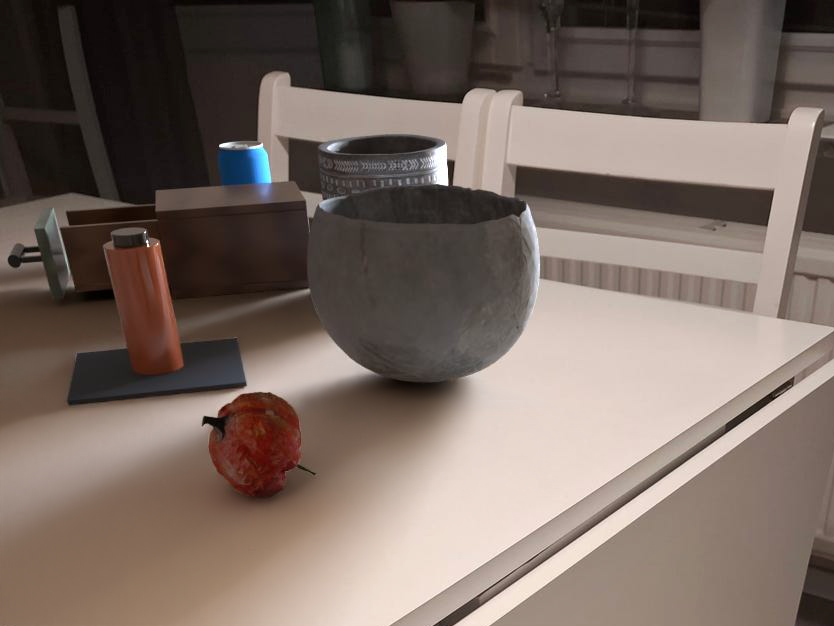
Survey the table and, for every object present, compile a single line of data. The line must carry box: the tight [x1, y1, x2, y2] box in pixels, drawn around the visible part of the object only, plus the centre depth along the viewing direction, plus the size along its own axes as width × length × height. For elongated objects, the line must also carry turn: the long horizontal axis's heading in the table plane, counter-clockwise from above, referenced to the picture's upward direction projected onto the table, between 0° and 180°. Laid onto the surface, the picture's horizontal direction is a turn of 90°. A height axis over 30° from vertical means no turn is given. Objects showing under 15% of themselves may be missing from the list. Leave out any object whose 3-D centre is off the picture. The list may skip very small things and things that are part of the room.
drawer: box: [7, 203, 170, 300], centre depth 118 cm, size 20×12×7 cm, turn 104°
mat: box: [66, 337, 248, 406], centre depth 97 cm, size 16×14×1 cm
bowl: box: [307, 184, 541, 384], centre depth 90 cm, size 20×20×15 cm
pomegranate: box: [201, 391, 317, 498], centre depth 74 cm, size 7×7×10 cm
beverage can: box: [217, 140, 272, 186], centre depth 134 cm, size 6×6×12 cm
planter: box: [317, 133, 449, 201], centre depth 115 cm, size 14×14×15 cm
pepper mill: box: [103, 228, 184, 375], centre depth 94 cm, size 5×5×12 cm
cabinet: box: [155, 180, 311, 300], centre depth 121 cm, size 17×13×9 cm
